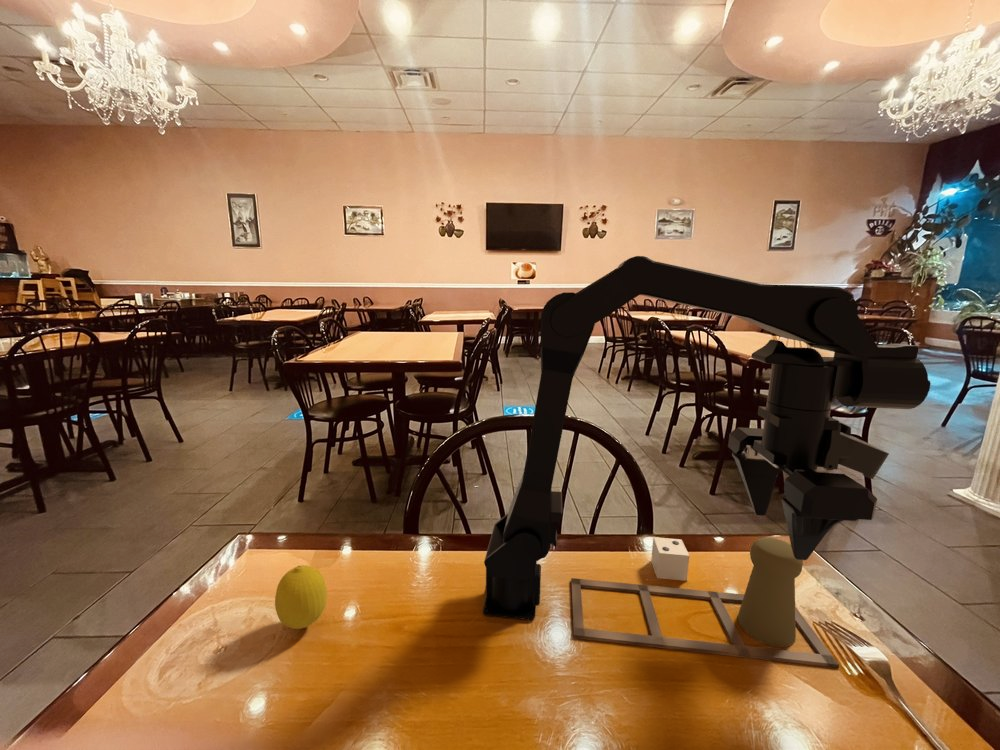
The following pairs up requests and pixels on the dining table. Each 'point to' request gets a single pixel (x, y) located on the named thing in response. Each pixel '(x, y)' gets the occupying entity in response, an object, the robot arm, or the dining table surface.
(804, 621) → the three-pane window frame
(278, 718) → the dining table surface
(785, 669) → the dining table surface
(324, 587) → the lemon
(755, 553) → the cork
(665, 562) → the die
